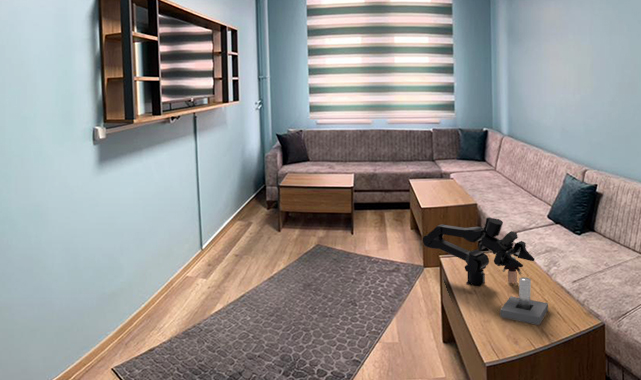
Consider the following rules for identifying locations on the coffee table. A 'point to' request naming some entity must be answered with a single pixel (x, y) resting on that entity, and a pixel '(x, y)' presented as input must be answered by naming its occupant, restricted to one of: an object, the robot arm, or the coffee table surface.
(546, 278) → the coffee table surface
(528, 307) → the steel peg
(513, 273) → the grandmother figurine
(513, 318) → the pocket block
